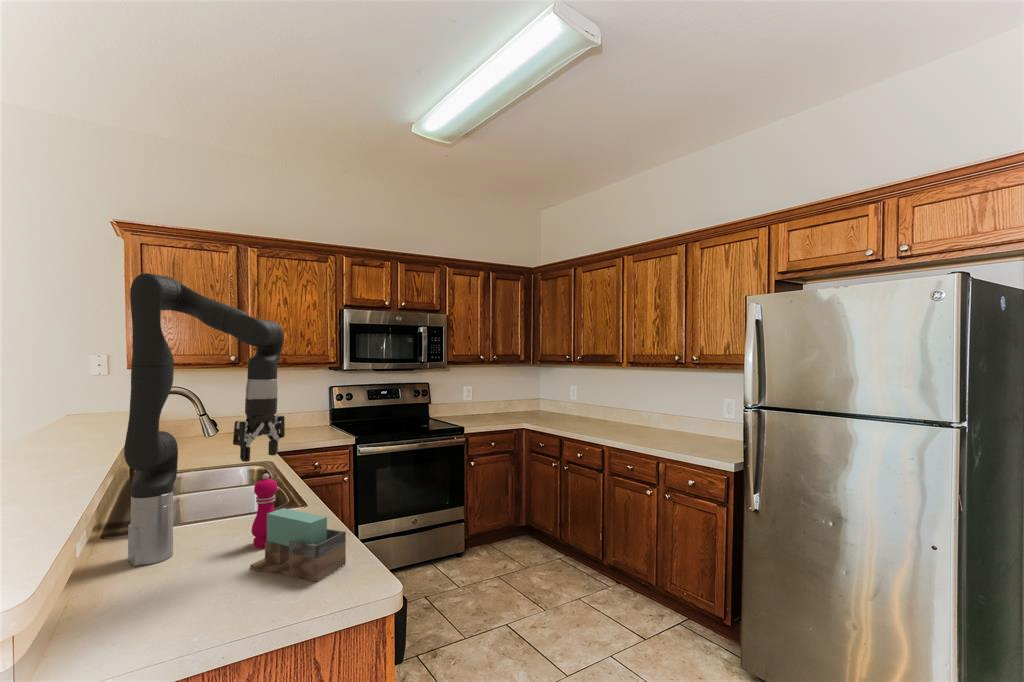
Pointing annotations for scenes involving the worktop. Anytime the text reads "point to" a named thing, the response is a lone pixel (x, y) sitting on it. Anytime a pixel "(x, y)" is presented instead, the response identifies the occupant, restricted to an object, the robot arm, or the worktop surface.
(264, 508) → the pepper mill
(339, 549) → the bracket stand
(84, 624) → the worktop surface
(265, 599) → the worktop surface
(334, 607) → the worktop surface
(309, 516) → the teal rectangular block
